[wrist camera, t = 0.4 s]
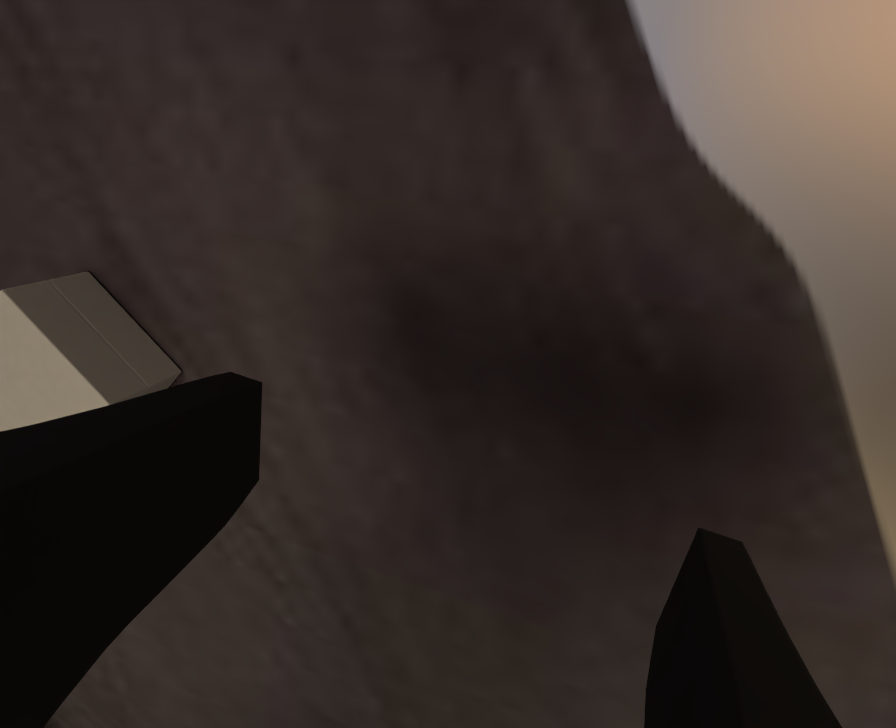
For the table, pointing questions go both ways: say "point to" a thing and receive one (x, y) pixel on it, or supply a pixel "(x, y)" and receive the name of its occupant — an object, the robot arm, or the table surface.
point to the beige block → (71, 352)
